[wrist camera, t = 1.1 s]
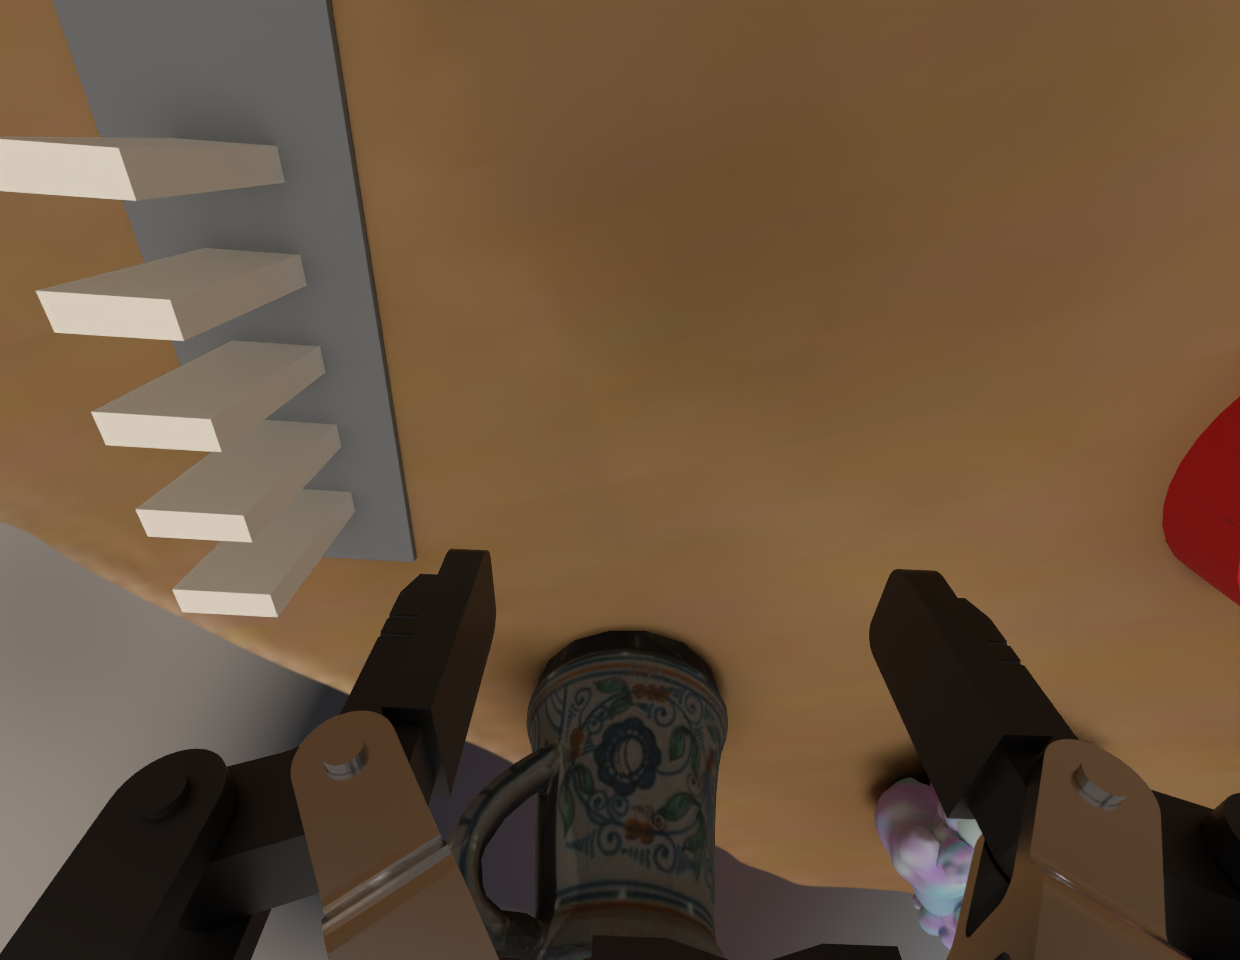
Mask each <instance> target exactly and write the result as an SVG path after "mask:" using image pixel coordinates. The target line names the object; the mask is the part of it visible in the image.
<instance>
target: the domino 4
mask: <svg viewBox="0 0 1240 960" xmlns="http://www.w3.org/2000/svg"><path fill="white" fill-rule="evenodd" d="M340 448H341V443H340V438H339V433H338V429H337V424H323V423H307V422H291V421H275V420H263V421H262V422H260V423H259V424H258V425H257V426H255V427H254V428H253V429H251V430H250V431H249V432H247V433H246V434H245V435H244V436H242V437H241V438H240V439H238V440H237V441H236V442H234V443H233V444H232V445H231V446H229V447H228V448H227V449H225V450H224V451H223V452H211V453H210V454H208V455H207V456H206V457H204V458H203V459H202V460H200V461H199V462H198V463H196V464H195V465H194V466H192V467H191V468H190V469H188V470H187V471H186V472H184V473H183V474H182V475H180V476H179V477H178V478H176V479H175V480H174V481H172V482H171V483H170V484H168V485H167V486H166V487H164V488H163V489H162V490H160V491H159V492H158V493H156V494H155V495H154V496H152V497H151V498H150V499H148V500H147V501H146V502H144V503H143V504H142V505H140V506H139V507H138V508H136V512H137V514H138V516H139V518H140V520H141V523H142V525H143V527H144V529H145V531H146V534H147V536H148V537H166V538H183V539H200V540H218V541H235V542H253V541H254V540H255V539H256V538H257V537H258V536H259V535H260V534H261V533H262V532H263V531H264V530H265V528H266V527H267V526H268V525H269V524H270V523H271V522H272V521H273V520H274V519H275V518H276V517H277V516H278V515H279V513H280V512H281V511H282V510H283V509H284V508H285V507H286V506H287V505H288V504H289V503H290V502H291V501H292V500H293V498H294V497H295V496H296V495H297V494H298V493H299V492H300V491H301V490H302V489H303V488H304V487H305V486H306V484H307V483H308V482H309V481H310V480H311V479H312V478H313V477H314V476H315V475H316V474H317V473H318V472H319V471H320V469H321V468H322V467H323V466H324V465H325V464H326V463H327V462H328V461H329V460H330V459H331V458H332V457H333V455H334V454H335V453H336V452H337V451H338V450H339V449H340Z"/></svg>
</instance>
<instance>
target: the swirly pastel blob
mask: <svg viewBox="0 0 1240 960" xmlns="http://www.w3.org/2000/svg"><path fill="white" fill-rule="evenodd" d="M874 817H875V823H876V828H877V832H878V835H879V838H880V840H881V842H882V844H883V845H884V847H885V849H886V850H887V852H888V853H889V854H890V856H891V861H892V863H893V866H894V867H895V869H896V870H897V872H898V873H899V874H900V875H901V876H902V877H904V878H905V879H906V880H907V881H908V882H910V884H911V886H912V888H913V890H914V893H915V894H914V895H913V904H914V906H915V907H916V908H918V909H920V910H919V911H918V920H919V924H920V925H921V927H922V928H923V929H924V930H925V931H926V932H927V933H929V934H931V935H935V936H936V935H937V936H938V935H940V940H941V941H942V943H943V944H944V945H945V946H946V947H947V948H949V949H951V947H952V944H953V940H954V936H955V932H956V927H957V923H958V919H959V914H960V910H961V905H962V901H963V897H964V892H965V888H966V883H967V879H968V874H969V870H970V866H971V861H972V857H973V852H974V848H975V844H976V842H977V840H978V838H979V837H980V835H981V834H982V832H981V830H980V828H979V826H978V824H977V822H976V820H975V819H949V818H947V817H946V814H945V812H944V810H943V808H942V806H941V803H940V801H939V799H938V797H937V795H936V792H935V790H934V788H933V786H932V784H931V782H930V786H929V785H927V784H923V783H920V782H918V781H917V780H916V779H914V778H911V777H910V778H905V779H902V780H900V781H898V782H896V783H895V784H893V785H892V786H891V787H890V788H889V789H888V790H886V791H884V793H883V794H882V795H881V797H880V798H879V801H878V803H877V807H876V810H875V815H874Z"/></svg>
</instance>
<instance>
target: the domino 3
mask: <svg viewBox="0 0 1240 960" xmlns="http://www.w3.org/2000/svg"><path fill="white" fill-rule="evenodd" d="M324 373H325V368H324V363H323V359H322V354H321V349H320V346H309V345H294V344H279V343H264V342H249V341H234V340H232V341H230V342H228V343H226V344H224V345H222V346H220V347H218V348H216V349H214V350H212V351H210V352H208V353H206V354H204V355H202V356H200V357H198V358H196V359H194V360H192V361H190V362H188V363H186V364H184V365H182V366H180V367H178V368H176V369H174V370H172V371H170V372H169V373H167V374H165V375H163V376H161V377H159V378H157V379H155V380H153V381H151V382H149V383H147V384H145V385H143V386H141V387H139V388H137V389H135V390H133V391H131V392H129V393H127V394H125V395H123V396H121V397H119V398H117V399H115V400H113V401H111V402H109V403H107V404H105V405H103V406H101V407H99V408H97V409H95V410H93V411H91V413H92V415H93V417H94V420H95V422H96V424H97V426H98V428H99V431H100V433H101V435H102V437H103V439H104V442H105V444H106V445H113V446H129V447H145V448H161V449H178V450H194V451H210V452H223V451H224V450H225V449H227V448H228V447H229V446H231V445H232V444H233V443H234V442H236V441H237V440H238V439H240V438H241V437H242V436H244V435H245V434H246V433H247V432H249V431H250V430H251V429H253V428H254V427H255V426H257V425H258V424H259V423H260V422H262V421H263V420H264V419H266V418H267V417H268V416H270V415H271V414H272V413H273V412H275V411H276V410H277V409H279V408H280V407H281V406H283V405H284V404H285V403H286V402H288V401H289V400H290V399H292V398H293V397H294V396H296V395H297V394H298V393H299V392H301V391H302V390H303V389H305V388H306V387H307V386H309V385H310V384H311V383H312V382H314V381H315V380H316V379H318V378H319V377H320V376H322V375H323V374H324Z"/></svg>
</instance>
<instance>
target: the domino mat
mask: <svg viewBox="0 0 1240 960" xmlns="http://www.w3.org/2000/svg"><path fill="white" fill-rule="evenodd" d="M53 3H54V6H55V9H56V12H57V14H58V17H59V20H60V23H61V26H62V29H63V32H64V34H65V37H66V40H67V43H68V46H69V49H70V51H71V54H72V57H73V60H74V63H75V66H76V69H77V71H78V74H79V77H80V80H81V83H82V86H83V89H84V91H85V94H86V97H87V100H88V103H89V106H90V108H91V111H92V114H93V117H94V120H95V123H96V126H97V128H98V131H99V134H100V137H115V138H180V139H193V140H206V141H220V142H233V143H246V144H259V145H273V146H277V148H278V153H279V158H280V162H281V167H282V172H283V176H284V181H285V183H279V184H271V185H263V186H254V187H246V188H238V189H230V190H221V191H213V192H205V193H197V194H188V195H180V196H172V197H164V198H155V199H147V200H139V201H132V200H123V203H124V205H125V208H126V211H127V214H128V217H129V220H130V223H131V225H132V228H133V231H134V234H135V237H136V240H137V242H138V245H139V248H140V251H141V254H142V257H143V260H144V262H145V263H147V262H151V261H155V260H159V259H163V258H167V257H171V256H175V255H179V254H183V253H187V252H191V251H195V250H198V249H202V248H214V249H228V250H242V251H256V252H270V253H285V254H299V255H300V256H301V260H302V265H303V270H304V274H305V279H306V284H307V286H305V287H303V288H300V289H298V290H296V291H294V292H292V293H289V294H287V295H285V296H283V297H280V298H278V299H276V300H274V301H272V302H269V303H267V304H265V305H263V306H261V307H258V308H256V309H254V310H252V311H249V312H247V313H245V314H243V315H241V316H238V317H236V318H234V319H232V320H230V321H227V322H225V323H223V324H221V325H218V326H216V327H214V328H212V329H210V330H207V331H205V332H203V333H201V334H199V335H196V336H194V337H192V338H190V339H187V340H185V341H176V340H172V342H173V345H174V348H175V351H176V354H177V357H178V359H179V362H180V365H181V366H182V365H184V364H186V363H188V362H190V361H192V360H194V359H196V358H198V357H200V356H202V355H204V354H206V353H208V352H210V351H212V350H214V349H216V348H218V347H220V346H222V345H224V344H226V343H228V342H230V341H232V340H234V341H249V342H264V343H279V344H294V345H309V346H320V349H321V354H322V359H323V363H324V368H325V373H324V374H323V375H322V376H320V377H319V378H318V379H316V380H315V381H314V382H312V383H311V384H310V385H309V386H307V387H306V388H305V389H303V390H302V391H301V392H299V393H298V394H297V395H296V396H294V397H293V398H292V399H290V400H289V401H288V402H286V403H285V404H284V405H283V406H281V407H280V408H279V409H277V410H276V411H275V412H273V413H272V414H271V415H270V416H268V417H267V418H266V419H264V420H275V421H291V422H307V423H323V424H337V429H338V433H339V438H340V443H341V448H340V449H339V450H338V451H337V452H336V453H335V454H334V455H333V457H332V458H331V459H330V460H329V461H328V462H327V463H326V464H325V465H324V466H323V467H322V468H321V469H320V471H319V472H318V473H317V474H316V475H315V476H314V477H313V478H312V479H311V480H310V481H309V482H308V483H307V484H306V486H305V487H304V488H303V489H312V490H329V491H345V492H351V494H352V499H353V503H354V508H355V513H354V514H353V515H352V517H351V518H350V519H349V521H348V522H347V523H346V525H345V526H344V528H343V529H342V530H341V532H340V533H339V534H338V536H337V537H336V538H335V540H334V541H333V543H332V544H331V545H330V547H329V548H328V549H327V551H326V552H325V554H324V555H323V556H322V557H331V558H349V559H367V560H384V561H402V562H415V560H416V552H415V546H414V539H413V533H412V526H411V520H410V513H409V507H408V500H407V494H406V487H405V481H404V474H403V468H402V461H401V455H400V448H399V442H398V435H397V429H396V422H395V416H394V409H393V403H392V396H391V390H390V383H389V377H388V370H387V364H386V357H385V351H384V344H383V338H382V331H381V325H380V318H379V312H378V306H377V299H376V293H375V286H374V280H373V273H372V267H371V260H370V254H369V247H368V241H367V234H366V228H365V221H364V215H363V208H362V202H361V195H360V189H359V182H358V176H357V169H356V163H355V156H354V150H353V143H352V137H351V130H350V124H349V117H348V111H347V104H346V98H345V91H344V85H343V78H342V72H341V65H340V59H339V52H338V46H337V39H336V33H335V26H334V20H333V13H332V7H331V0H53Z"/></svg>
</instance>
